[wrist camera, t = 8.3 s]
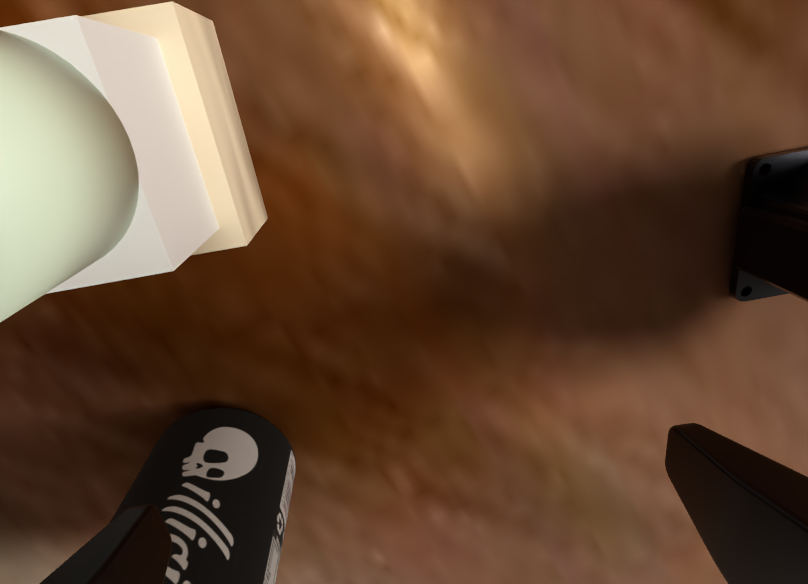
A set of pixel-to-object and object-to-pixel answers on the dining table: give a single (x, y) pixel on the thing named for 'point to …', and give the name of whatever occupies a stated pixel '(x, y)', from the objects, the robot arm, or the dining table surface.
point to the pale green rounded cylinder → (56, 173)
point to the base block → (204, 115)
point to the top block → (137, 146)
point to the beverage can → (219, 496)
